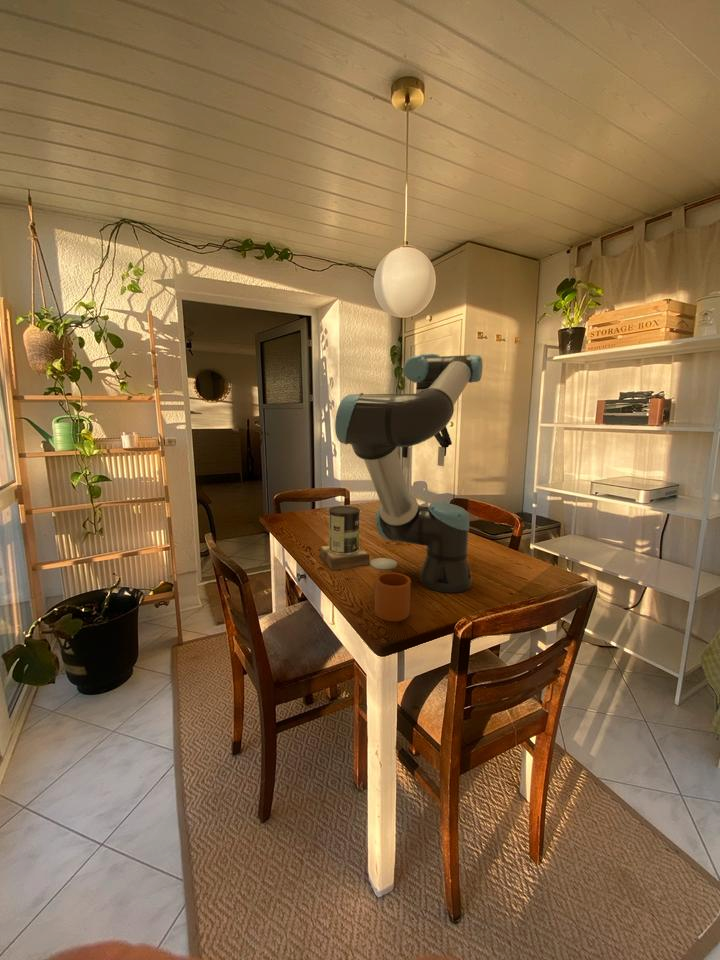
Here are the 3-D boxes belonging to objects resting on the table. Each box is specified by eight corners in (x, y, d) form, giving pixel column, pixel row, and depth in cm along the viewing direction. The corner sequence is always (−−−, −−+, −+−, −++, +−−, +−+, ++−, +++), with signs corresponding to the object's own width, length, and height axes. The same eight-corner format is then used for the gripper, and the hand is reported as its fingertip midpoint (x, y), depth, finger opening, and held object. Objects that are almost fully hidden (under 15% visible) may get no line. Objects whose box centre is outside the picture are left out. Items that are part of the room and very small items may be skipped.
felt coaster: (402, 567, 130) (402, 565, 130) (377, 571, 126) (377, 569, 126) (389, 557, 138) (389, 556, 138) (365, 561, 134) (365, 560, 134)
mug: (394, 596, 109) (396, 565, 108) (415, 618, 98) (418, 584, 97) (364, 601, 106) (365, 569, 105) (382, 624, 95) (384, 589, 94)
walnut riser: (369, 564, 132) (369, 554, 131) (332, 570, 126) (332, 559, 126) (354, 551, 143) (354, 541, 143) (319, 556, 138) (319, 546, 138)
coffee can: (359, 545, 139) (360, 506, 137) (358, 555, 129) (359, 513, 127) (330, 544, 139) (330, 505, 137) (327, 555, 129) (327, 513, 127)
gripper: (451, 404, 140) (447, 463, 144) (388, 402, 130) (386, 466, 134) (464, 403, 134) (460, 466, 137) (399, 402, 124) (397, 469, 127)
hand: (424, 466), depth 136 cm, fingers open, 13 cm apart
